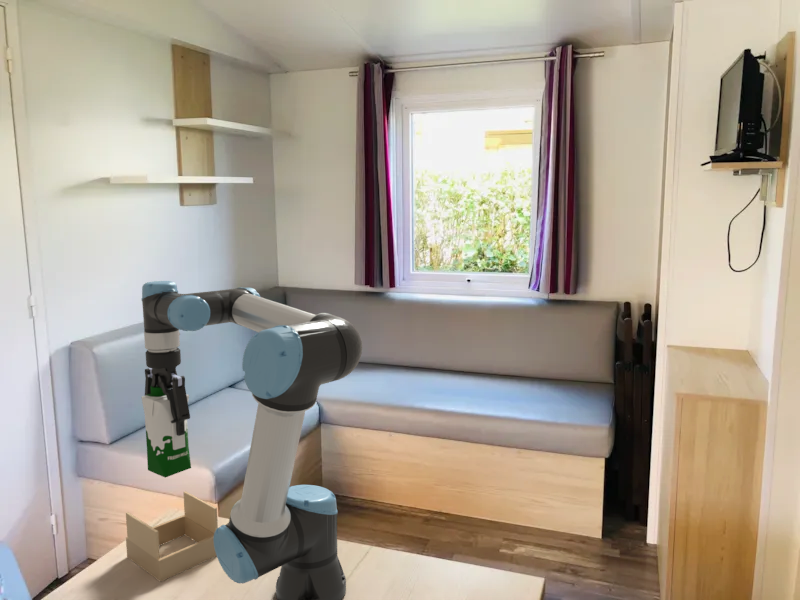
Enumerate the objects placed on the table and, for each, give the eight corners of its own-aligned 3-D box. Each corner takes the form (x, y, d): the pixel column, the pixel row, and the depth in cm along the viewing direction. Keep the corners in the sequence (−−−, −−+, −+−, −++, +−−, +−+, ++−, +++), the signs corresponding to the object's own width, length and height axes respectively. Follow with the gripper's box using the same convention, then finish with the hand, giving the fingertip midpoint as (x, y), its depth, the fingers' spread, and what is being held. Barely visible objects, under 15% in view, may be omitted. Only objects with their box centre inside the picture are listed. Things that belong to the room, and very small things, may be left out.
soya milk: (174, 459, 159) (170, 379, 156) (197, 468, 154) (193, 385, 151) (141, 470, 152) (136, 387, 149) (164, 480, 147) (159, 394, 144)
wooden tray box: (220, 553, 157) (218, 509, 155) (160, 581, 145) (157, 533, 143) (186, 532, 167) (183, 490, 165) (127, 557, 155) (124, 511, 154)
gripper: (203, 352, 144) (208, 449, 148) (154, 340, 159) (159, 428, 162) (172, 358, 139) (178, 459, 142) (124, 344, 153) (130, 436, 156)
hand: (168, 442), depth 152 cm, fingers closed on soya milk, 9 cm apart
